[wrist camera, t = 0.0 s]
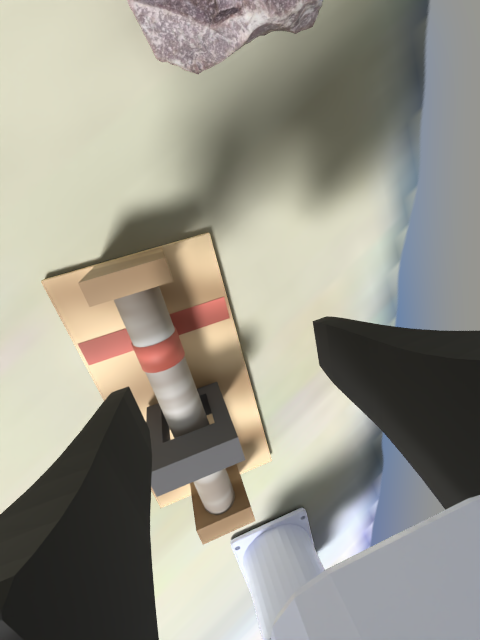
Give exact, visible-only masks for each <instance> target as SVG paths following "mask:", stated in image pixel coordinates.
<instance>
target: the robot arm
mask: <svg viewBox="0 0 480 640" xmlns="http://www.w3.org/2000/svg"><path fill="white" fill-rule="evenodd" d="M313 326H314V333H315V339H316V346H317V352H318V358H319V365H320V366H321V368H322V369H323V371H324V372H325V373H326V375H327V376H328V377H329V378H330V380H331V381H332V382H333V383H334V384H335V385H336V386H337V387H338V388H339V389H340V390H341V391H342V392H343V393H344V394H345V395H346V396H347V397H348V398H349V399H350V400H351V401H352V402H353V403H354V404H355V405H356V406H357V407H358V408H359V409H361V410H362V411H363V412H364V413H365V414H366V415H367V416H368V417H369V418H370V419H371V420H372V421H373V422H374V423H375V424H376V425H377V426H378V427H379V428H380V429H381V430H382V431H383V432H384V433H385V435H386V436H387V437H388V438H389V439H390V440H391V442H392V443H393V444H394V445H395V446H396V447H397V449H398V450H399V451H400V452H401V453H402V454H403V456H404V457H405V458H406V460H407V461H408V462H409V463H410V464H411V466H412V467H413V468H414V469H415V471H416V472H417V473H418V474H419V476H420V477H421V478H422V479H423V481H424V482H425V483H426V485H427V486H428V487H429V488H430V490H431V491H432V493H433V494H434V495H435V496H436V498H437V499H438V500H439V502H440V503H441V504H442V506H443V507H444V508H445V510H444V511H442V512H440V513H438V514H436V515H434V516H432V517H430V518H428V519H426V520H424V521H422V522H420V523H418V524H416V525H414V526H412V527H410V528H408V529H406V530H404V531H402V532H400V533H398V534H396V535H394V536H392V537H390V538H388V539H386V540H384V541H382V542H380V543H378V544H376V545H374V546H372V547H370V548H368V549H366V550H364V551H362V552H360V553H358V554H356V555H354V556H352V557H350V558H348V559H346V560H344V561H342V562H340V563H338V564H336V565H334V566H332V567H330V568H328V569H326V570H325V569H324V567H323V565H322V563H321V561H320V559H319V557H318V555H317V553H316V551H315V547H314V543H313V539H312V534H311V530H310V526H309V521H308V517H307V513H306V511H305V509H304V508H299V509H297V510H295V511H293V512H290V513H288V514H286V515H284V516H282V517H280V518H277V519H275V520H273V521H271V522H269V523H266V524H264V525H262V526H260V527H258V528H256V529H253V530H251V531H249V532H247V533H245V534H243V535H240V536H238V537H236V538H234V539H232V541H231V547H232V550H233V552H234V554H235V557H236V559H237V562H238V564H239V566H240V569H241V571H242V574H243V576H244V578H245V581H246V583H247V585H248V588H249V590H250V593H251V596H252V600H253V604H254V608H255V612H256V616H257V620H258V623H259V627H260V631H261V635H262V639H263V640H480V331H437V330H421V329H409V328H401V327H393V326H386V325H379V324H373V323H367V322H362V321H356V320H350V319H345V318H338V317H324V318H321V319H318V320H315V321H313ZM151 478H152V448H151V438H150V430H149V428H148V425H147V423H146V421H145V419H144V417H143V415H142V413H141V411H140V409H139V406H138V404H137V402H136V400H135V398H134V396H133V394H132V392H131V390H130V387H129V386H128V387H125V388H123V389H120V390H117V391H114V392H112V393H111V394H110V395H109V396H108V397H107V398H106V399H105V401H104V402H103V403H102V405H101V406H100V407H99V409H98V410H97V411H96V412H95V414H94V415H93V416H92V418H91V419H90V420H89V422H88V423H87V424H86V425H85V427H84V428H83V429H82V431H81V432H80V433H79V434H78V435H77V437H76V438H75V439H74V440H73V441H72V443H71V444H70V445H69V446H68V447H67V449H66V450H65V451H64V452H63V453H62V454H61V456H60V457H59V458H58V459H57V460H56V461H55V462H54V463H53V465H52V466H51V467H50V468H49V469H48V470H47V471H46V472H45V473H44V474H43V475H42V476H41V477H40V478H39V479H38V480H37V481H36V482H35V483H34V484H33V485H32V486H31V487H30V488H29V489H28V490H27V491H26V492H25V493H24V494H23V495H21V496H20V497H19V498H18V499H17V500H16V501H15V502H14V503H13V504H12V505H10V506H9V507H8V508H7V509H6V510H5V511H4V512H3V513H2V514H0V640H159V638H158V628H157V618H156V608H155V596H154V584H153V572H152V558H151V542H150V503H151Z"/></svg>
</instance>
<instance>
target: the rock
mask: <svg viewBox="0 0 480 640" xmlns="http://www.w3.org/2000/svg"><path fill="white" fill-rule="evenodd" d="M127 1H128V4H129V6H130V8H131V10H132V11H133V13H134V15H135V17H136V20H137V21H138V23H139V24H140V26H141V29H142V31H143V33H144V35H145V37H146V39H147V41H148V43H149V44H150V46H151V48H152V51H153V53H154V55H155V57H156V58H157V60H159V61H161V62H169V63H171V64H172V65H176V66H179V67H181V68H182V69H184V70H186V71H190V72H193V73H196V74H199V73H201V72H202V71H203V70H206V69H209V68H211V67H212V66H214V65H216V64H218V63H220V62H222V61H223V60H224V59H226V58H227V57H229V56H230V55H231V54H233V53H234V52H235V51H237V50H238V49H240V48H241V47H242V46H243V45H244V44H247V43H249V42H251V41H252V40H253V39H255V38H256V37H258V36H262V35H266V34H268V33H270V32H272V31H288V32H292V33H295V34H296V33H298V32H300V31H301V30H306V29H308V28H311V27H312V26H313V24H314V22H315V20H316V18H317V15H318V12H319V9H320V8H321V6H322V2H323V0H127Z"/></svg>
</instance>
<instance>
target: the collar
mask: <svg viewBox="0 0 480 640" xmlns="http://www.w3.org/2000/svg"><path fill="white" fill-rule="evenodd" d="M197 391H198V394H199V397H200V399H201V402H202V405H203V408H204V410H205V413H206V415H209V414H212V416H213V419H214V422H215V423H213V424H210V425H208V426H205V427H203V428H200V429H197V430H195V431H192V432H190V433H187V434H185V435H182V436H180V437H177V438H174V439H172V440H170V428H169V425H168V423H167V421H166V418H165V416H164V414H163V412H162V409H161V407H160V405H159V403H157V404H154V405H152V406H149V407H147V414H146V423H147V425H148V428H149V430H150V438H151V448H152V478H151V487H152V489H153V491H154V493H155V494H156V496H157V497H158V496H161V495H163V494H166V493H168V492H170V491H173V490H175V489H177V488H180V487H182V486H185V485H187V484H189V483H192V482H194V481H197V480H199V479H201V478H204V477H206V476H209V475H211V474H213V473H216V472H218V471H221V470H223V469H225V468H228V467H230V466H232V465H235V464H237V463H240V462H242V461H244V460H245V457H244V454H243V451H242V448H241V445H240V442H239V438H238V436H237V433H236V430H235V428H234V425H233V422H232V420H231V417H230V415H229V412H228V409H227V407H226V404H225V401H224V399H223V396H222V393H221V391H220V388H219V385H218V383H217V382H214V383H211V384H209V385H206V386H203V387H201V388H198V389H197Z"/></svg>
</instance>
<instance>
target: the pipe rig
mask: <svg viewBox="0 0 480 640" xmlns="http://www.w3.org/2000/svg"><path fill="white" fill-rule="evenodd" d="M41 282H42V284H43V286H44V288H45V290H46V292H47V294H48V296H49V298H50V299H51V301H52V303H53V305H54V307H55V309H56V311H57V313H58V315H59V317H60V318H61V320H62V322H63V324H64V326H65V328H66V330H67V332H68V334H69V335H70V337H71V339H72V341H73V343H74V345H75V347H76V349H77V351H78V352H79V354H80V356H81V358H82V360H83V362H84V364H85V366H86V368H87V369H88V371H89V373H90V375H91V377H92V379H93V381H94V383H95V385H96V386H97V388H98V390H99V392H100V394H101V396H102V398H103V400H104V401H105V399H106V398H107V397H108V396H109V395H110V394H111V393H112V392H114V391H117V390H120V389H123V388H125V387H128V386H129V387H130V390H131V392H132V394H133V396H134V398H135V400H136V402H137V404H138V406H139V409H140V411H141V413H142V415H143V417H144V419H145V421H146V414H147V407H149V406H152V405H154V404H157V403H159V405H160V407H161V409H162V412H163V414H164V416H165V418H166V421H167V423H168V425H169V428H170V440H172V439H174V438H177V437H180V436H182V435H185V434H187V433H190V432H192V431H195V430H197V429H200V428H203V427H205V426H208V425H210V424H213V423H215V422H214V419H213V416H212V414H209V415H206V413H205V410H204V408H203V405H202V402H201V399H200V397H199V394H198V391H197V389H198V388H201V387H203V386H206V385H209V384H211V383H214V382H217V383H218V385H219V388H220V391H221V393H222V396H223V399H224V401H225V404H226V407H227V409H228V412H229V415H230V417H231V420H232V422H233V425H234V428H235V430H236V433H237V436H238V438H239V442H240V445H241V448H242V451H243V454H244V457H245V460H244V461H242V462H240V463H237V464H235V465H232V466H230V467H228V468H225V469H223V470H221V471H218V472H216V473H213V474H211V475H209V476H206V477H204V478H201V479H199V480H197V481H194V482H192V483H189V484H187V485H185V486H182V487H180V488H177V489H175V490H173V491H170V492H168V493H166V494H163V495H161V496H158V497H157V496H156V494H155V493H154V491H153V489H152V487H151V490H152V492H153V494H154V496H155V498H156V500H157V502H158V504H159V506H160V507H161V508H162V507H165V506H167V505H169V504H172V503H174V502H177V501H179V500H181V499H184V498H186V497H188V496H191V495H192V502H193V509H194V517H195V524H196V531H197V533H198V535H199V537H200V539H201V541H202V543H203V544H205V543H208V542H210V541H212V540H214V539H216V538H219V537H221V536H223V535H225V534H227V533H230V532H232V531H234V530H236V529H238V528H241V527H243V526H245V525H247V524H249V523H252V522H254V521H255V518H254V515H253V512H252V509H251V506H250V503H249V500H248V497H247V494H246V491H245V488H244V485H243V482H242V479H241V476H240V474H242V473H245V472H247V471H249V470H252V469H254V468H257V467H259V466H261V465H264V464H266V463H268V462H271V461H272V459H271V456H270V452H269V448H268V445H267V441H266V437H265V434H264V430H263V426H262V423H261V419H260V415H259V412H258V408H257V404H256V401H255V397H254V393H253V390H252V386H251V383H250V379H249V375H248V372H247V368H246V364H245V361H244V357H243V353H242V350H241V346H240V342H239V339H238V335H237V331H236V328H235V324H234V320H233V317H232V313H231V309H230V306H229V302H228V299H227V295H226V291H225V288H224V284H223V280H222V277H221V273H220V269H219V266H218V262H217V258H216V255H215V251H214V247H213V244H212V240H211V236H210V233H208V232H207V233H204V234H200V235H197V236H193V237H190V238H186V239H183V240H179V241H176V242H172V243H169V244H165V245H162V246H158V247H155V248H151V249H148V250H144V251H141V252H137V253H134V254H130V255H127V256H123V257H120V258H116V259H113V260H109V261H106V262H102V263H99V264H95V265H92V266H88V267H85V268H81V269H78V270H74V271H71V272H67V273H64V274H60V275H57V276H53V277H50V278H46V279H44V280H42V281H41Z"/></svg>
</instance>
